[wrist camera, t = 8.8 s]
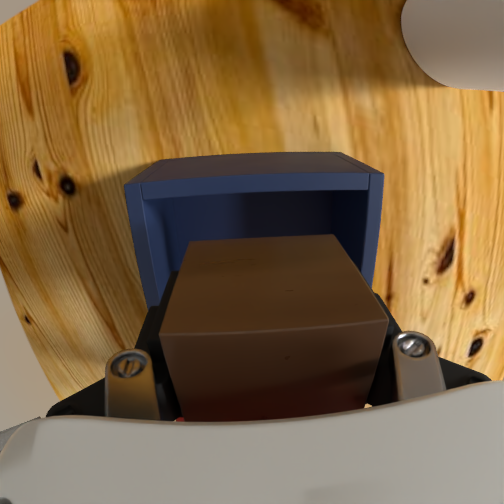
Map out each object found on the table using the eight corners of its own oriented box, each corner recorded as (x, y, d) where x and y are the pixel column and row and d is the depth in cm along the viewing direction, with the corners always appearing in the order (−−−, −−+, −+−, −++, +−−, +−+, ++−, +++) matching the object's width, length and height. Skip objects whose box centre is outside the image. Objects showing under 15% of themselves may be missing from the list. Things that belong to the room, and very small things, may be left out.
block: (188, 240, 11) (157, 334, 6) (334, 233, 11) (390, 319, 7) (205, 350, 13) (194, 452, 9) (323, 343, 13) (352, 440, 9)
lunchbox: (159, 159, 19) (123, 184, 13) (341, 152, 20) (385, 173, 13) (189, 351, 26) (178, 415, 20) (327, 343, 26) (346, 405, 20)
